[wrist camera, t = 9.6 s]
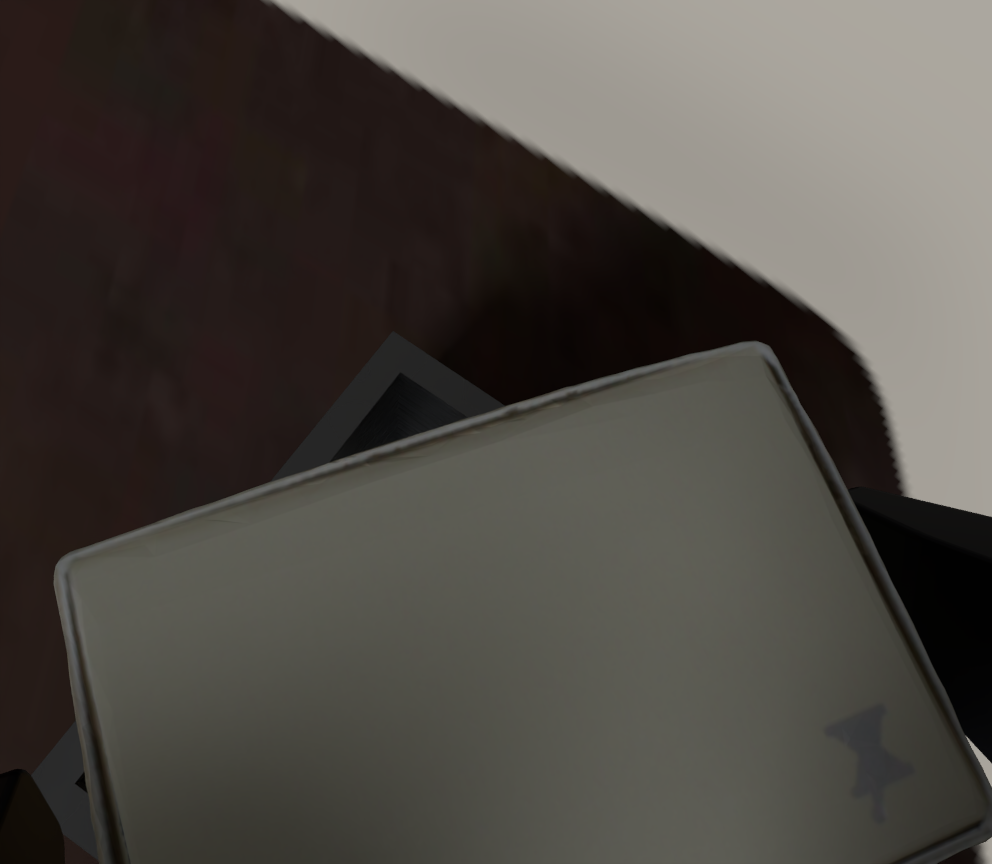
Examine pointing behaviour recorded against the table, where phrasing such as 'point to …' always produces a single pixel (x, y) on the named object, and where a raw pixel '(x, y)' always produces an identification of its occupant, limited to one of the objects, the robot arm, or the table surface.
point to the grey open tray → (340, 433)
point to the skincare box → (524, 651)
